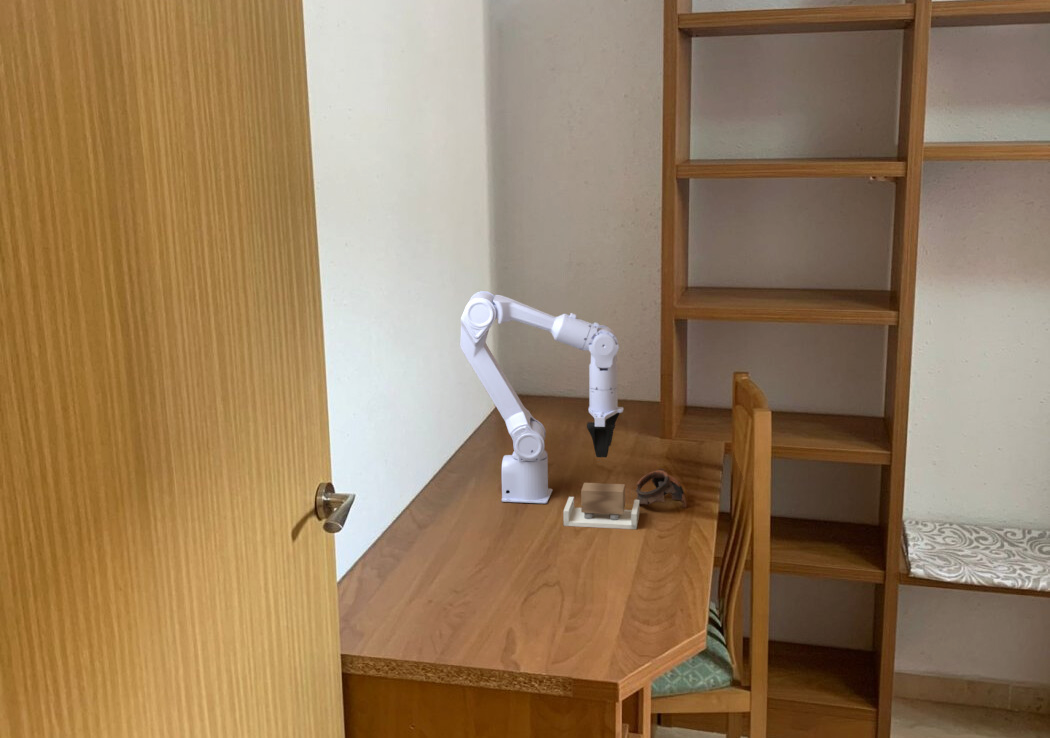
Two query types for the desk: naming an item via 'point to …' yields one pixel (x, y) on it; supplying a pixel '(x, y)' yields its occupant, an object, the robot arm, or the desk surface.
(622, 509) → the tan rectangular block
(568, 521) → the peg stand
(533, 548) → the desk surface
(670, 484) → the pottery mug
